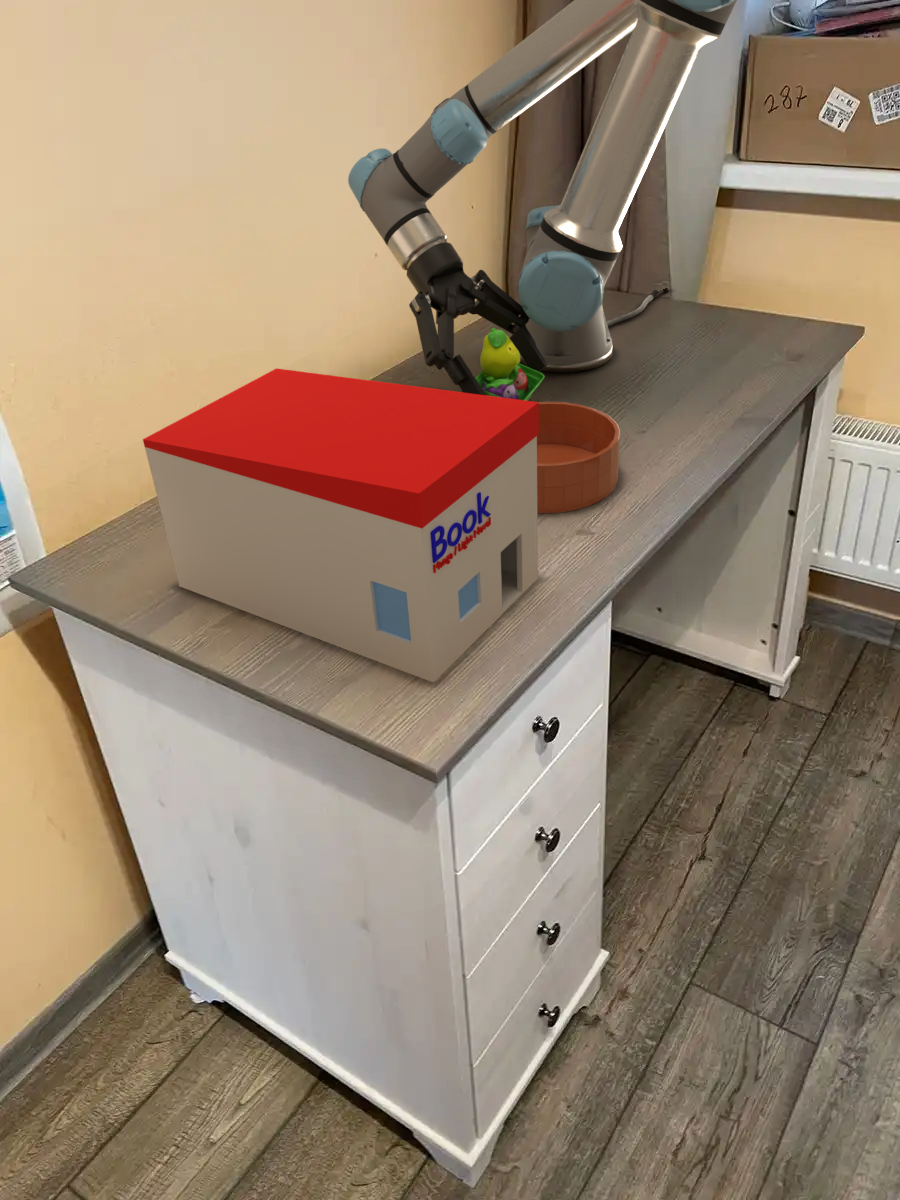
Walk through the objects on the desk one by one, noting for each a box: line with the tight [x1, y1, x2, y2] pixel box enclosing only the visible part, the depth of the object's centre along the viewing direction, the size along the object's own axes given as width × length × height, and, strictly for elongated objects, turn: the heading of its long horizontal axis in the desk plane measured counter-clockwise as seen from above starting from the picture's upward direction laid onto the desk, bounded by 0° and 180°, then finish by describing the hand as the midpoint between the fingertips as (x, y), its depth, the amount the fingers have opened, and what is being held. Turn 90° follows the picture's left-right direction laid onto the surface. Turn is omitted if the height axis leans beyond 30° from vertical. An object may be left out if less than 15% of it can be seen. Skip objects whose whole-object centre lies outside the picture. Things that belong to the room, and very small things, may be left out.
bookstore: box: [142, 367, 540, 683], centre depth 108 cm, size 21×35×21 cm, turn 57°
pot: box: [537, 401, 621, 514], centre depth 129 cm, size 18×18×6 cm
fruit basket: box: [475, 327, 545, 401], centre depth 141 cm, size 11×9×11 cm
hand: (511, 385), depth 141 cm, fingers closed on fruit basket, 13 cm apart
